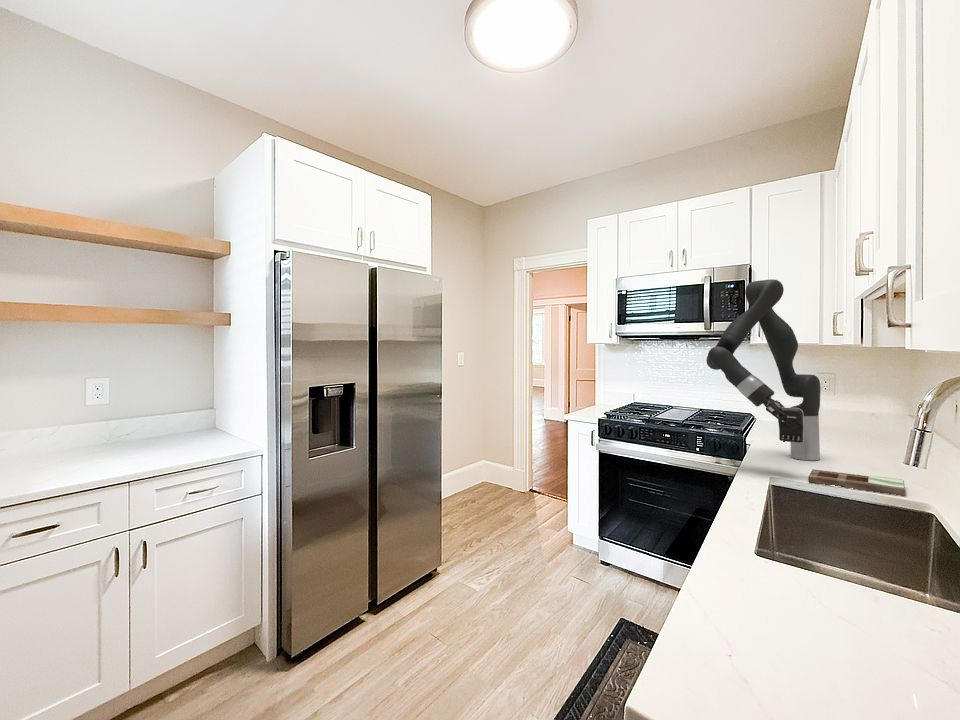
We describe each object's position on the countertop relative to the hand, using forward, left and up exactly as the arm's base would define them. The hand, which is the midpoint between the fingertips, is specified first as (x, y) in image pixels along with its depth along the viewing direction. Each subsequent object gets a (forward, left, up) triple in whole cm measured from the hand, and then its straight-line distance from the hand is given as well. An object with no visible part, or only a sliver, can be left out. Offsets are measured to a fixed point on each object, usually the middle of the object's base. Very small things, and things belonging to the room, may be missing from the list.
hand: (797, 427), depth 143 cm
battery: (0, -2, -5) cm, 6 cm away
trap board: (0, +14, -17) cm, 22 cm away
